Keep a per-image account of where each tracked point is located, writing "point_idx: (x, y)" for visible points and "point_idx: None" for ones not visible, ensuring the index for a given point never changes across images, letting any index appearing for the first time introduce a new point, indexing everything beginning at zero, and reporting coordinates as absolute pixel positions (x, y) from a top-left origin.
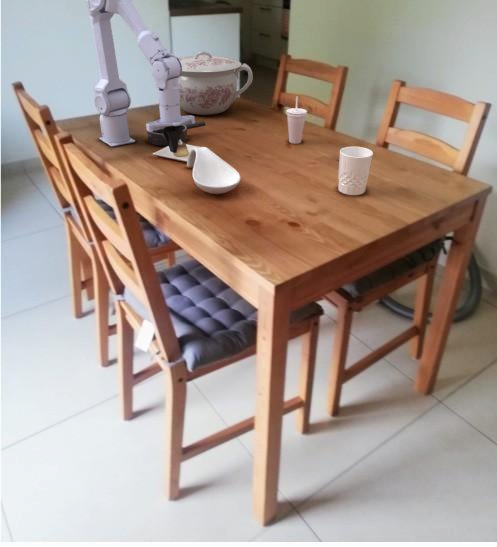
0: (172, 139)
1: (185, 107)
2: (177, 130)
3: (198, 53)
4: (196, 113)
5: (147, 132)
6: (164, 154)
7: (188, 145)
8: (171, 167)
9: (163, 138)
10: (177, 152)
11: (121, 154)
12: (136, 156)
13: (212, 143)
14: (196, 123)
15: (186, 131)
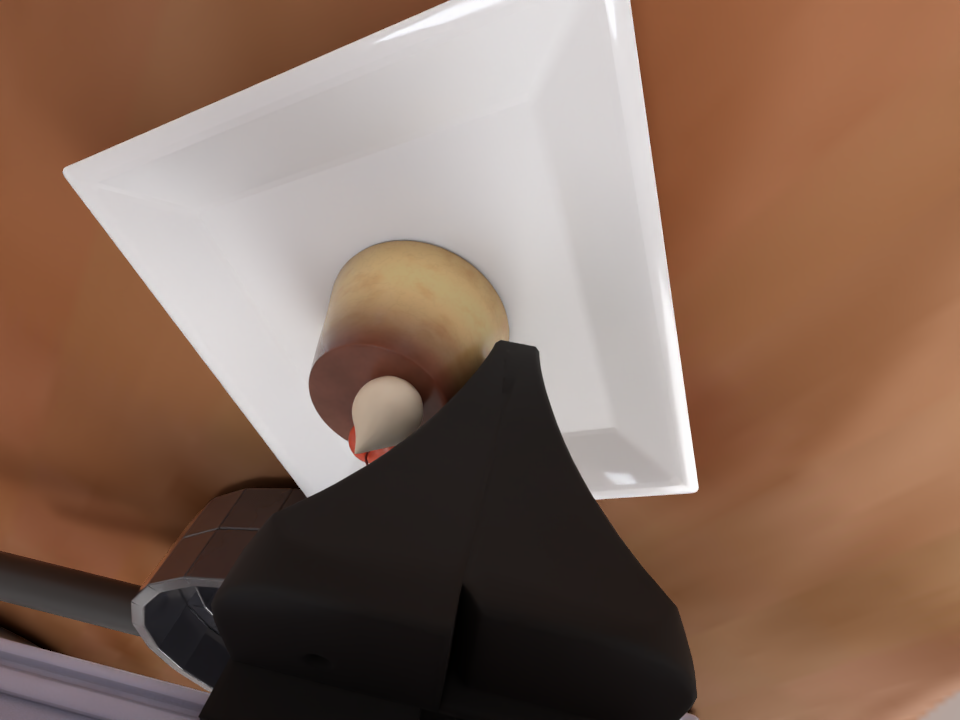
0: (552, 476)
1: None
2: (416, 594)
3: None
4: None
5: None
6: (560, 431)
7: (255, 405)
8: (882, 37)
9: None
10: (484, 331)
11: (782, 638)
12: (753, 559)
13: (17, 330)
14: (30, 596)
15: (161, 565)
